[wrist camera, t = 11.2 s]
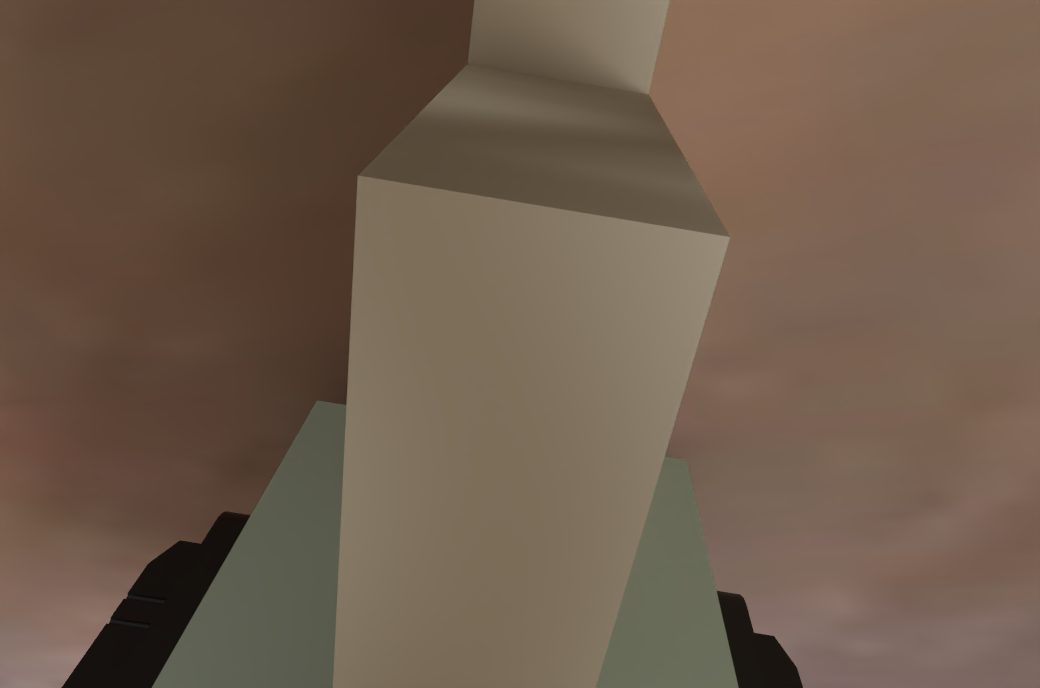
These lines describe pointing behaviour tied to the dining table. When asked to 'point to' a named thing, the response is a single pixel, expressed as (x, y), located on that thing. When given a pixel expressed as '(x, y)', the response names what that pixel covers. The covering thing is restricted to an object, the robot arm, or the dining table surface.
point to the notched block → (314, 583)
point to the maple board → (516, 354)
